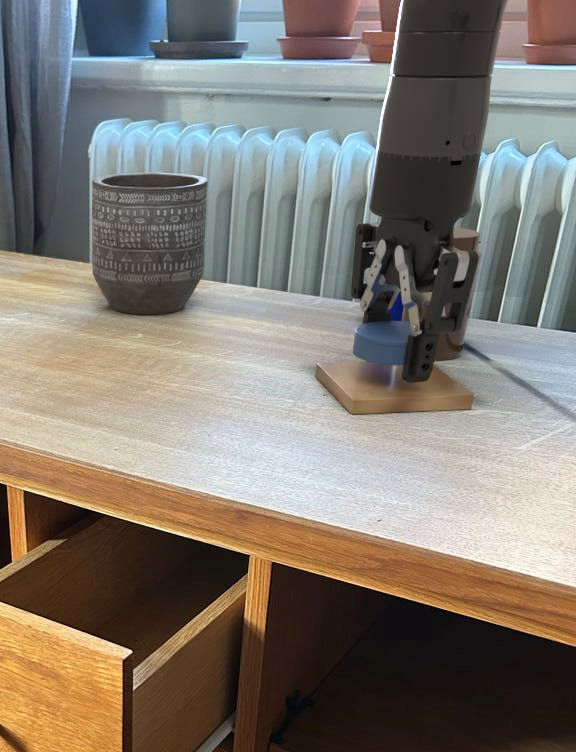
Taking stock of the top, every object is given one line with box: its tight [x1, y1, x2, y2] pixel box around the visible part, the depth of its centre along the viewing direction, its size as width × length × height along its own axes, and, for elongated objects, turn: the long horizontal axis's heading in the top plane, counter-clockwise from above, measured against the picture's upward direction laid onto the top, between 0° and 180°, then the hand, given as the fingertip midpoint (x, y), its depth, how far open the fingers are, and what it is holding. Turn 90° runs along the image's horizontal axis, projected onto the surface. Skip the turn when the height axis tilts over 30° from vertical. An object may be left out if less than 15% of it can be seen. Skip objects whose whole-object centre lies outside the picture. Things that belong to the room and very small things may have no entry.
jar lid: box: [352, 321, 412, 365], centre depth 79 cm, size 6×6×2 cm
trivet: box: [314, 360, 475, 415], centre depth 81 cm, size 10×10×1 cm
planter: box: [91, 171, 209, 316], centre depth 103 cm, size 12×12×13 cm
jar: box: [401, 227, 482, 361], centre depth 88 cm, size 6×6×11 cm
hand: (392, 367), depth 80 cm, fingers closed on jar lid, 6 cm apart
